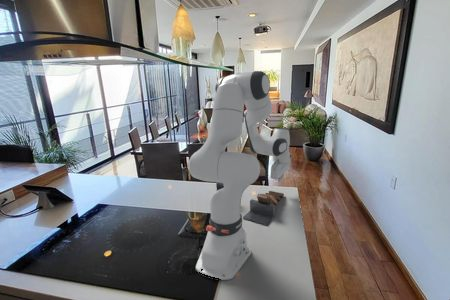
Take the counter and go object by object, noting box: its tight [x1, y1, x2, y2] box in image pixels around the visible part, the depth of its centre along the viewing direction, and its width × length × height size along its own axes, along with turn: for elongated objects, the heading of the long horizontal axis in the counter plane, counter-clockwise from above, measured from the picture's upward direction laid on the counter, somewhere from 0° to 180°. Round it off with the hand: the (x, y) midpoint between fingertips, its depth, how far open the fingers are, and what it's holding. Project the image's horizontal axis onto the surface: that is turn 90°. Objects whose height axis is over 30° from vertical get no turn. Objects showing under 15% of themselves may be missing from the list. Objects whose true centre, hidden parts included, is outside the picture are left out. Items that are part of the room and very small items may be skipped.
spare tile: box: [263, 193, 279, 205], centre depth 122 cm, size 2×5×10 cm
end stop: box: [242, 199, 276, 227], centre depth 112 cm, size 9×12×6 cm
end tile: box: [268, 190, 285, 197], centre depth 129 cm, size 2×5×10 cm
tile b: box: [265, 192, 282, 201], centre depth 125 cm, size 2×5×10 cm
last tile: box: [256, 193, 270, 204], centre depth 116 cm, size 2×5×10 cm, turn 57°
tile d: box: [261, 193, 275, 205], centre depth 119 cm, size 2×5×10 cm
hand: (280, 181), depth 132 cm, fingers closed
